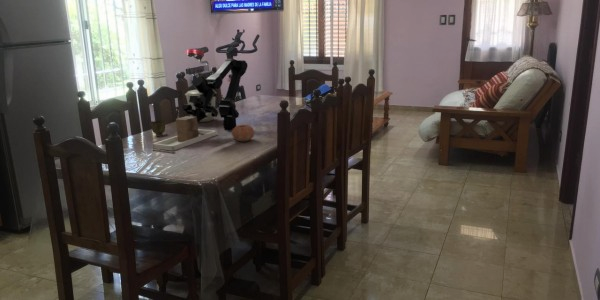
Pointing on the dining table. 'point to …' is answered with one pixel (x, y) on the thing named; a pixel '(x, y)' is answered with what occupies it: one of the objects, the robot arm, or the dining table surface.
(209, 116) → the canister
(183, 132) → the tan upright block
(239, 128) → the orange pumpkin
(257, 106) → the dining table surface
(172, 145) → the trap box
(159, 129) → the cup
